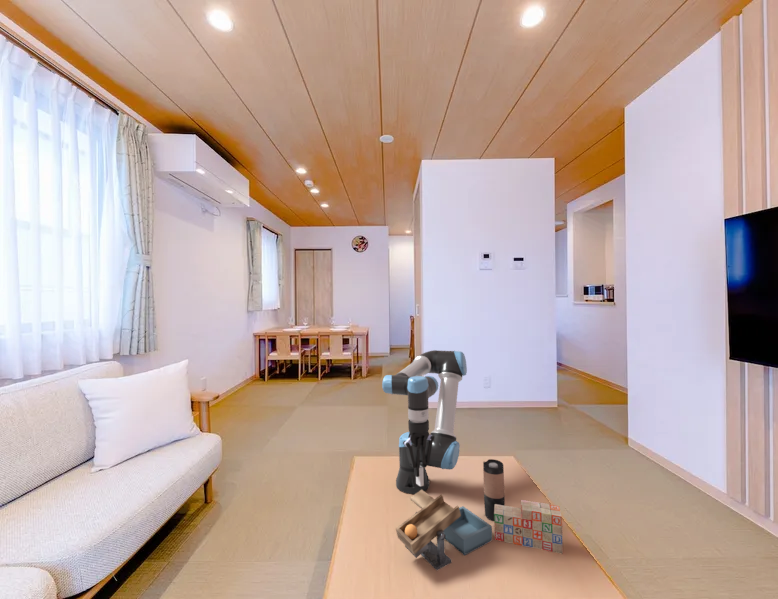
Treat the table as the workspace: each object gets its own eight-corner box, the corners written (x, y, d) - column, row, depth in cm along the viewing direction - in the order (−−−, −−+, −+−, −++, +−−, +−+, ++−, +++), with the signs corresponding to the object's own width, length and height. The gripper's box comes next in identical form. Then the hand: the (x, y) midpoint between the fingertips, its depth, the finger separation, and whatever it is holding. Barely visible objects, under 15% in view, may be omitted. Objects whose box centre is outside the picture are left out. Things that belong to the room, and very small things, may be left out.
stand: (436, 570, 105) (435, 537, 105) (410, 544, 117) (409, 514, 117) (451, 562, 108) (450, 530, 108) (424, 537, 120) (423, 508, 120)
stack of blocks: (494, 540, 118) (493, 504, 118) (495, 529, 124) (494, 495, 124) (563, 554, 111) (562, 515, 111) (560, 541, 117) (559, 505, 117)
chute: (416, 563, 104) (411, 544, 103) (383, 528, 121) (379, 512, 120) (462, 523, 114) (458, 506, 113) (426, 496, 131) (423, 481, 130)
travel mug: (506, 523, 127) (504, 468, 127) (485, 521, 128) (483, 467, 129) (503, 511, 134) (502, 459, 135) (483, 509, 136) (482, 458, 136)
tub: (464, 555, 111) (463, 540, 111) (436, 531, 123) (436, 517, 123) (492, 540, 118) (491, 525, 118) (463, 519, 129) (463, 506, 130)
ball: (403, 537, 109) (401, 525, 109) (413, 531, 111) (411, 519, 111) (410, 544, 106) (408, 532, 106) (420, 538, 108) (419, 526, 108)
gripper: (409, 425, 119) (411, 494, 119) (438, 419, 126) (440, 483, 125) (398, 420, 126) (399, 485, 125) (426, 413, 133) (427, 475, 132)
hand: (419, 484), depth 125 cm, fingers closed
